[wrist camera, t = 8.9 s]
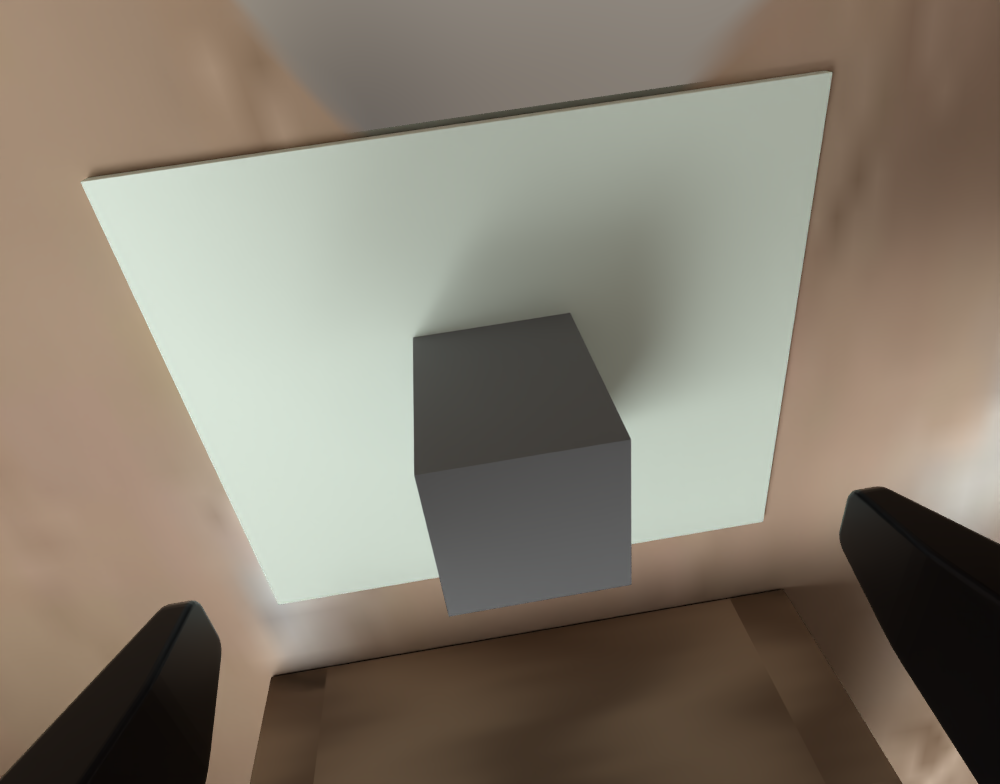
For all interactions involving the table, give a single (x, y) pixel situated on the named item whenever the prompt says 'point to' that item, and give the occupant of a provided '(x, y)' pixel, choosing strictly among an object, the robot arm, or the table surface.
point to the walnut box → (583, 708)
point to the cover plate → (474, 252)
